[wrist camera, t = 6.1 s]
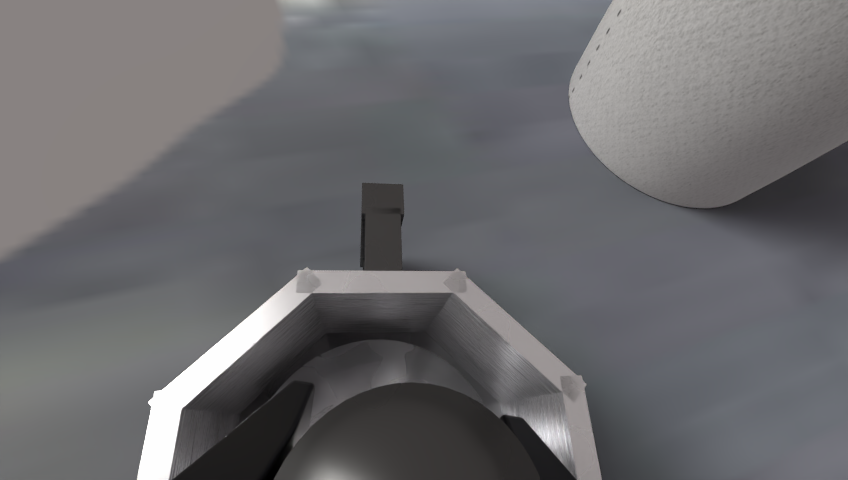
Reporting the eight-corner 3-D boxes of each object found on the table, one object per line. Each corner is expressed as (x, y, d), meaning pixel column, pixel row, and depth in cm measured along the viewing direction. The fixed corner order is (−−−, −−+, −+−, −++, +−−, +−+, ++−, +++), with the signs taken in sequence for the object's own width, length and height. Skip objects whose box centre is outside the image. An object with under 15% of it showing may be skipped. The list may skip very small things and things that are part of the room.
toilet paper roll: (786, 114, 25) (1095, -111, 15) (732, 257, 20) (1144, 72, 10) (615, 12, 27) (784, -256, 16) (526, 122, 22) (686, -163, 11)
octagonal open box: (539, 641, 13) (666, 789, 8) (186, 691, 11) (40, 922, 6) (492, 256, 18) (548, 186, 13) (246, 253, 16) (195, 172, 11)
